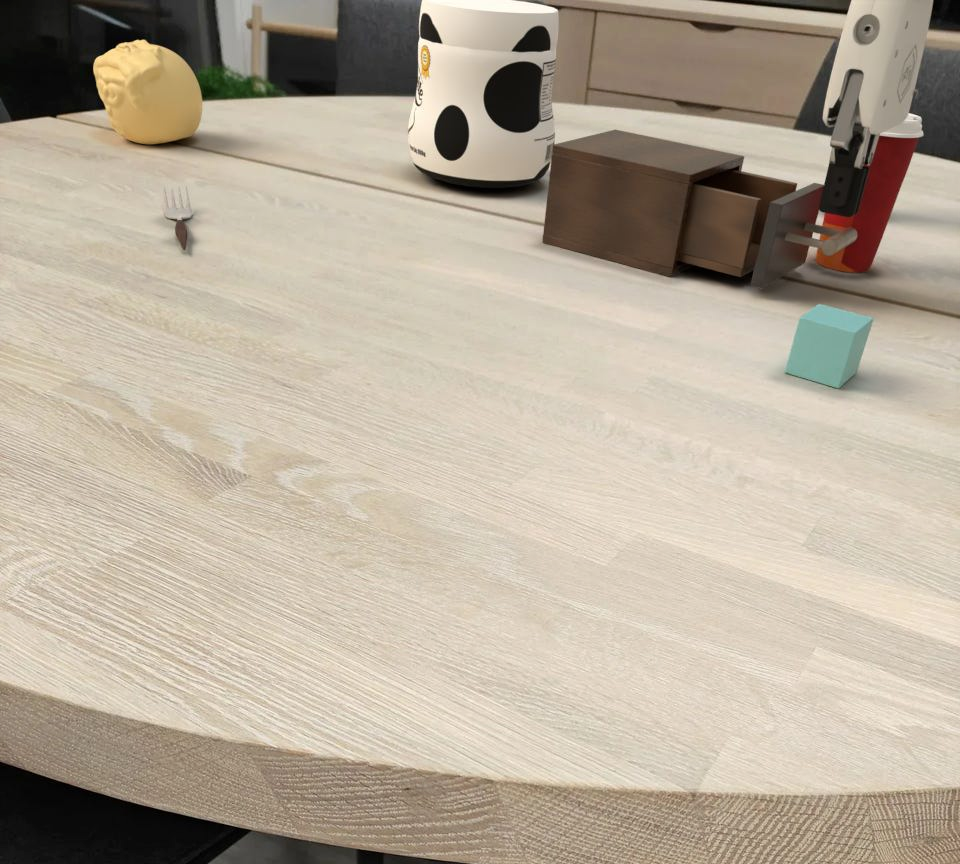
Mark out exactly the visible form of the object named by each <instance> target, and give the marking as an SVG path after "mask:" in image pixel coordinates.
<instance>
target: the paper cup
mask: <svg viewBox="0 0 960 864" xmlns="http://www.w3.org/2000/svg"><path fill="white" fill-rule="evenodd" d="M922 120H923V119H922V117H921V116H919V115H916V114H913V113H910V112H909V113H908V116H907V118H906V119H905V121H903V122H902V123H901V124H899V125H897V126H895V127H893V128H891V129H889V130H886V131H884V132H882V133H880V136H879V139H878V142H877V146H876V149H875V152H874V156H873V159H872V162H871V164H870V165H869V166H868V167H870V170H869V174H868V178H867V182H866V186H865V189H864V193H863V197H862V201H861V205H860V209H859V212H858V213H856V214H855V215H853V216H851V217H844V216H839V215H834V214H829V213H824V214H823V215H824V216H823V220H822V225H821V226H824V227H829V228H833V229H837V230H842V231H843V230H845V229H847V228H849V227H851V228H854V229H855V230H856V231H857V239H856V240H855V241H854V242H853V243H851V244H849V245H848V246H846V247H845V248H843V249H841V250H840V251H838V252H836V253H835V254H833V255H831V256H826V255H824V254H823V252H822V250H821V249H820V248H816V254H815V255H816V256H815V262H816V263H817V264H818V265H820V266H822V267H825V268H827V269H830V270H833V271H834V270H835V271H837V272H844V273H845V272H846V273H864V272H869V271H870V269H871V267H872V266H873V263H874V260H875V258H876V255H877V253H878V250H879V247H880V245H881V242H882V239H883V236H884V234H885V232H886V228H887V226H888V223H889V220H890V218H891V215H892V212H893V210H894V207H895V204H896V202H897V198H898V196H899V193H900V191H901V188H902V185H903V183H904V180H905V177H906V175H907V173H908V170H909V167H910V164H911V162H912V159H913V156H914V153H915V150H916V147H917V145H918V142H919V140H920V138H922V137H924V135H925V134H924V131H923V129H922V128H923V125H922V123H923V121H922ZM864 166H867V165H864ZM831 237H832V236H827V235H823V234H819V240H823V241H826V240H827V239H829V238H831Z"/></svg>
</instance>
